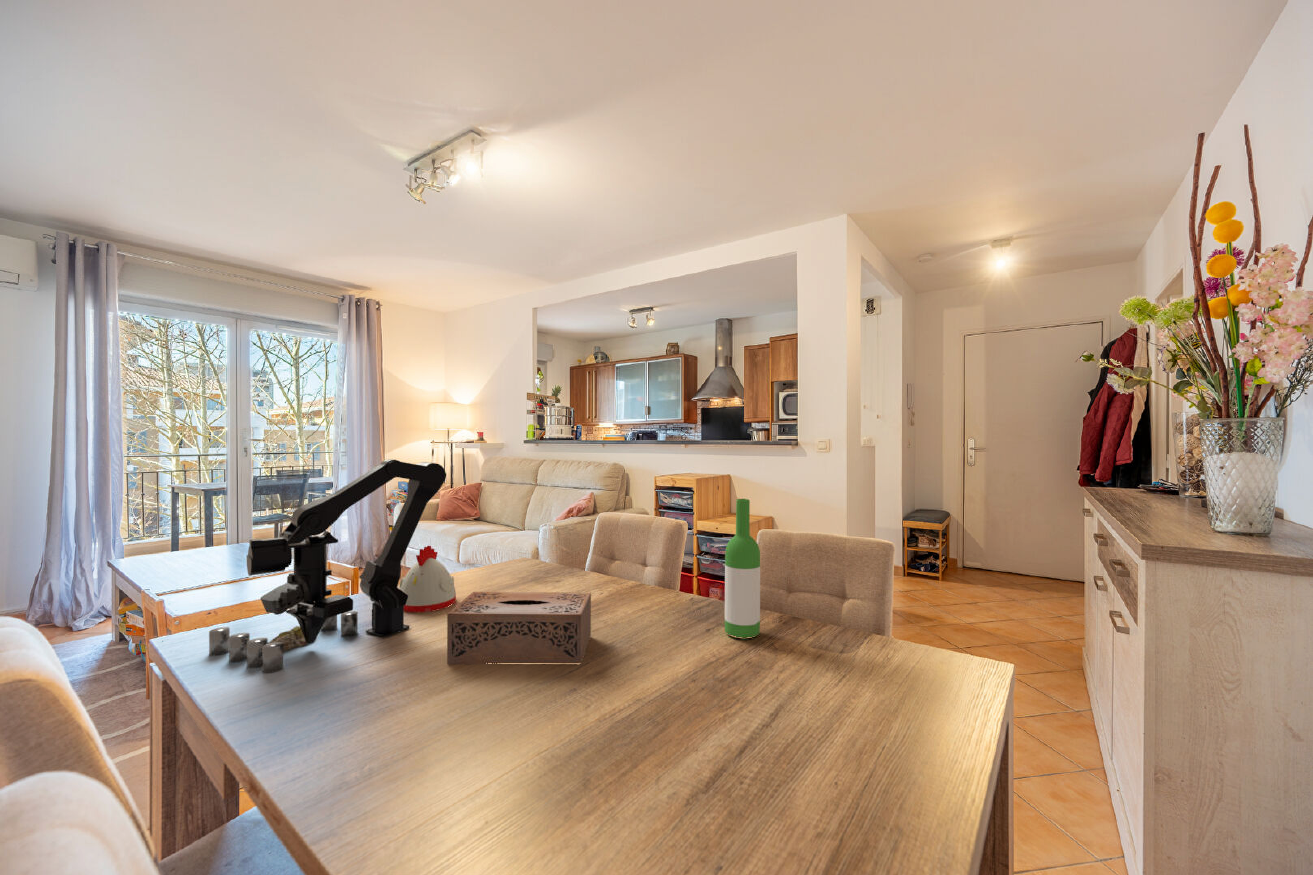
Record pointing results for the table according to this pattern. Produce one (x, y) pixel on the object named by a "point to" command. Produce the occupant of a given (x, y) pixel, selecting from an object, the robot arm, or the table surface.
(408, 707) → the table surface
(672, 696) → the table surface
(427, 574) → the kitchen timer
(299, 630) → the mineral rock
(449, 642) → the tissue box cover
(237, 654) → the spacer posts
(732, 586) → the wine bottle
